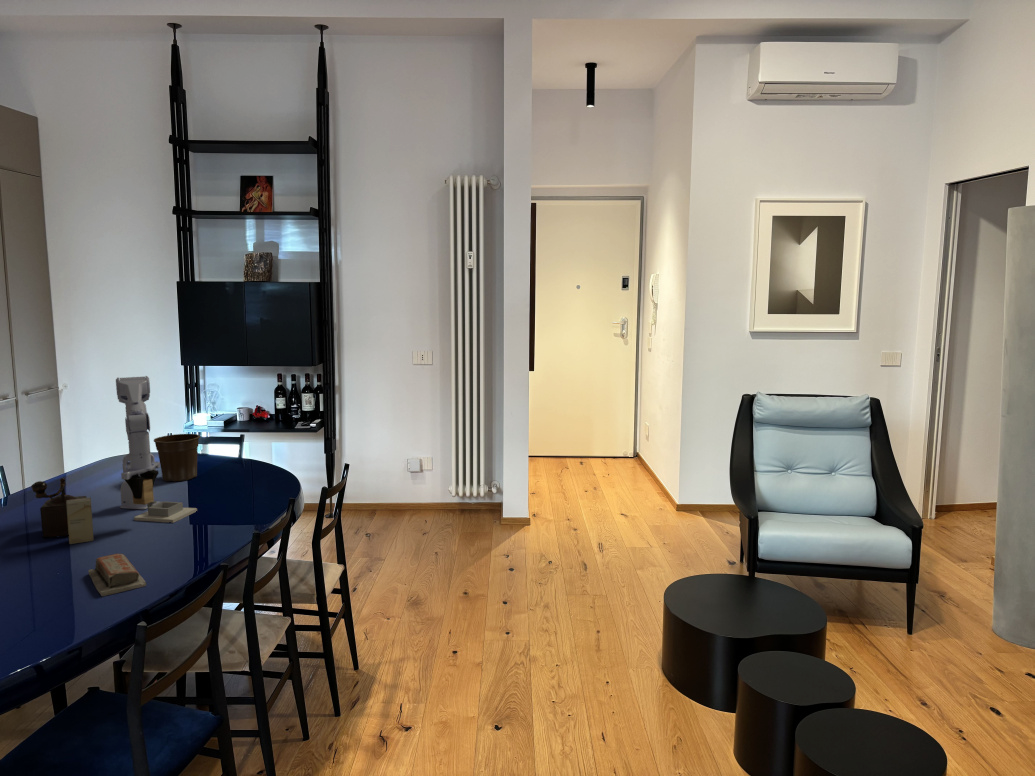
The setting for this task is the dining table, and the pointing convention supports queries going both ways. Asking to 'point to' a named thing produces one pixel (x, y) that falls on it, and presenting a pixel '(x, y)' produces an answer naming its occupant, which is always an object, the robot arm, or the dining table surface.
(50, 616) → the dining table surface
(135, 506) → the robot arm
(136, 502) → the wooden block
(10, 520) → the dining table surface
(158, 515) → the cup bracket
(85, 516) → the skincare box
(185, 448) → the plant pot
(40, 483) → the manual coffee grinder
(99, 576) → the packaged product
